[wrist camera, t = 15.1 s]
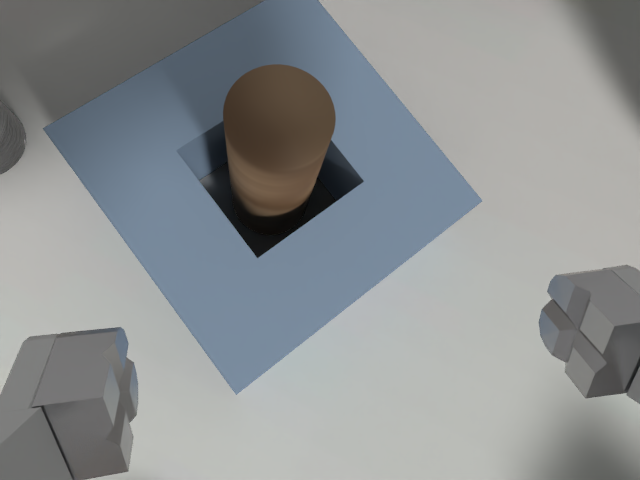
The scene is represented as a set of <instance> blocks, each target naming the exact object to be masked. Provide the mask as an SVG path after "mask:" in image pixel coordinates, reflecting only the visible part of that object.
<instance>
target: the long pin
mask: <svg viewBox="0 0 640 480" xmlns="http://www.w3.org/2000/svg"><path fill="white" fill-rule="evenodd" d="M223 121H224V130H225V139H226V147H227V156H228V165H229V174H230V183H231V191H232V200H233V207H234V210H235V213H236V215H237V217H238V218H239V220H240V221H241V222H242V223H243V224H244V225H245V226H246V227H248V228H249V229H250V230H252V231H254V232H257V233H260V234H264V235H276V234H281V233H284V232H286V231H288V230H290V229H291V228H293V227H294V226H295V225H296V224H297V223H298V222H299V221H300V220H301V218H302V216H303V214H304V212H305V209H306V207H307V204H308V201H309V198H310V196H311V193H312V190H313V187H314V185H315V182H316V179H317V176H318V174H319V171H320V168H321V166H322V163H323V160H324V157H325V155H326V152H327V149H328V146H329V144H330V141H331V138H332V135H333V133H334V129H335V121H336V116H335V108H334V104H333V102H332V99H331V97H330V95H329V93H328V91H327V90H326V89H325V87H324V86H323V85H322V84H321V83H320V82H319V81H318V80H317V79H316V78H315V77H314V76H312V75H311V74H309V73H307V72H305V71H304V70H302V69H299V68H296V67H293V66H289V65H281V64H272V65H265V66H261V67H258V68H255V69H252V70H251V71H249V72H247V73H245V74H244V75H242V76H241V77H240V78H239V79H238V80H237V81H236V82H235V83H234V84H233V85H232V87H231V88H230V90H229V92H228V94H227V96H226V99H225V102H224V108H223Z"/></svg>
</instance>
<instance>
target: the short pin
mask: <svg viewBox="0 0 640 480" xmlns="http://www.w3.org/2000/svg"><path fill="white" fill-rule="evenodd" d="M25 145H26V133H25V130H24V127H23V125H22V123H21V122H20V120H19V119H18V118H17V117H16V116H15V115H14V114H13V113H12V112H11V111H10V110H9V109H8V108H7V107H6V106H5V105H4V104H3V103H2V102H1V100H0V174H2V173H4V172H6V171H7V170H9V169H10V168H12V167H13V166H14V165H15V164H16V163H17V162H18V161H19V159H20V158H21V156H22V154H23V152H24V149H25Z"/></svg>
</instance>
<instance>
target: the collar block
mask: <svg viewBox="0 0 640 480" xmlns="http://www.w3.org/2000/svg"><path fill="white" fill-rule="evenodd" d="M272 64H281V65H289V66H293V67H296V68H299V69H302V70H304V71H305V72H307V73H309V74H311V75H312V76H314V77H315V78H316V79H317V80H318V81H319V82H320V83H321V84H322V85H323V86H324V87H325V89H326V90H327V91H328V93H329V95H330V97H331V99H332V102H333V104H334V108H335V116H336V121H335V129H334V133H333V135H332V138H331V141H330V144H329V146H328V149H327V152H326V155H325V157H324V160H323V163H322V166H321V168H320V171H319V174H318V176H317V177H318V178H319V179H320V180H321V182H322V183H323V184H324V186H325V187H326V188H327V189H328V191H329V192H330V193H331V194H332V196H333V197H334V198H335V200H336V202H335V203H334V204H332V205H331V206H329V207H328V208H327V209H325V210H324V211H322V212H321V213H320V214H318V215H317V216H316V217H314V218H313V219H311V220H310V221H309V222H307V223H306V224H304V225H303V226H302V227H300V228H299V229H297V230H296V231H295V232H293V233H292V234H291V235H289V236H288V237H286V238H285V239H284V240H282V241H281V242H279V243H278V244H277V245H275V246H274V247H272V248H271V249H270V250H268V251H267V252H266V253H264V254H263V255H261V256H260V257H259V258H257V257H256V256H255V254H254V253H253V252H252V250H251V249H250V248H249V246H248V245H247V244H246V242H245V241H244V240H243V238H242V237H241V236H240V234H239V233H238V232H237V230H236V229H235V228H234V226H233V225H232V224H231V222H230V221H229V220H228V219H227V217H226V216H225V215H224V213H223V212H222V211H221V209H220V208H219V207H218V205H217V204H216V203H215V201H214V200H213V199H212V197H211V196H210V195H209V193H208V192H207V191H206V189H205V188H204V187H203V185H202V184H201V183H200V181H199V180H200V179H202V178H203V177H205V176H206V175H208V174H210V173H211V172H213V171H214V170H216V169H217V168H219V167H220V166H222V165H223V164H225V163H226V162H228V156H227V147H226V139H225V130H224V121H223V108H224V102H225V99H226V96H227V94H228V92H229V90H230V88H231V87H232V85H233V84H234V83H235V82H236V81H237V80H238V79H239V78H240V77H241V76H242V75H244V74H245V73H247V72H249V71H251V70H252V69H255V68H258V67H261V66H265V65H272ZM43 129H44V131H45V132H46V134H47V135H48V136H49V138H50V139H51V140H52V142H53V143H54V145H55V146H56V147H57V149H58V150H59V151H60V153H61V154H62V156H63V157H64V158H65V160H66V161H67V162H68V164H69V165H70V167H71V168H72V169H73V171H74V172H75V173H76V175H77V176H78V178H79V179H80V180H81V182H82V183H83V184H84V186H85V187H86V189H87V190H88V191H89V193H90V194H91V196H92V197H93V198H94V200H95V201H96V202H97V204H98V205H99V207H100V208H101V209H102V211H103V212H104V213H105V215H106V216H107V218H108V219H109V220H110V222H111V223H112V224H113V226H114V227H115V229H116V230H117V231H118V233H119V234H120V235H121V237H122V238H123V240H124V241H125V242H126V244H127V245H128V246H129V248H130V249H131V251H132V252H133V253H134V255H135V256H136V257H137V259H138V260H139V262H140V263H141V264H142V266H143V267H144V268H145V270H146V271H147V273H148V274H149V275H150V277H151V278H152V280H153V281H154V282H155V284H156V285H157V286H158V288H159V289H160V291H161V292H162V293H163V295H164V296H165V297H166V299H167V300H168V302H169V303H170V304H171V306H172V307H173V308H174V310H175V311H176V313H177V314H178V315H179V317H180V318H181V319H182V321H183V322H184V324H185V325H186V326H187V328H188V329H189V330H190V332H191V333H192V335H193V336H194V337H195V339H196V340H197V341H198V343H199V344H200V346H201V347H202V348H203V350H204V351H205V352H206V354H207V355H208V357H209V358H210V359H211V361H212V362H213V364H214V365H215V366H216V368H217V369H218V370H219V372H220V373H221V375H222V376H223V377H224V379H225V380H226V381H227V383H228V384H229V386H230V387H231V388H232V390H233V391H234V392H235V394H236V395H237V394H238V393H239V392H240V391H242V390H243V389H244V388H246V387H247V386H248V385H249V384H251V383H252V382H253V381H254V380H256V379H257V378H258V377H260V376H261V375H262V374H263V373H265V372H266V371H267V370H268V369H270V368H271V367H272V366H273V365H275V364H276V363H277V362H279V361H280V360H281V359H282V358H284V357H285V356H286V355H287V354H289V353H290V352H291V351H293V350H294V349H295V348H296V347H298V346H299V345H300V344H301V343H303V342H304V341H305V340H307V339H308V338H309V337H310V336H312V335H313V334H314V333H315V332H317V331H318V330H319V329H320V328H322V327H323V326H324V325H326V324H327V323H328V322H329V321H331V320H332V319H333V318H334V317H336V316H337V315H338V314H340V313H341V312H342V311H343V310H345V309H346V308H347V307H348V306H350V305H351V304H352V303H353V302H355V301H356V300H357V299H359V298H360V297H361V296H362V295H364V294H365V293H366V292H367V291H369V290H370V289H371V288H373V287H374V286H375V285H376V284H378V283H379V282H380V281H381V280H383V279H384V278H385V277H387V276H388V275H389V274H390V273H392V272H393V271H394V270H395V269H397V268H398V267H399V266H400V265H402V264H403V263H404V262H406V261H407V260H408V259H409V258H411V257H412V256H413V255H414V254H416V253H417V252H418V251H420V250H421V249H422V248H423V247H425V246H426V245H427V244H428V243H430V242H431V241H432V240H433V239H435V238H436V237H437V236H439V235H440V234H441V233H442V232H444V231H445V230H446V229H447V228H449V227H450V226H451V225H453V224H454V223H455V222H456V221H458V220H459V219H460V218H461V217H463V216H464V215H465V214H467V213H468V212H469V211H470V210H472V209H473V208H474V207H475V206H477V205H478V204H479V203H480V202H482V200H481V198H480V197H479V196H478V195H477V193H476V192H475V191H474V190H473V189H472V187H471V186H470V185H469V184H468V183H467V181H466V180H465V179H464V178H463V176H462V175H461V174H460V173H459V172H458V170H457V169H456V168H455V167H454V165H453V164H452V163H451V162H450V161H449V159H448V158H447V157H446V156H445V155H444V153H443V152H442V151H441V150H440V148H439V147H438V146H437V145H436V144H435V142H434V141H433V140H432V139H431V137H430V136H429V135H428V134H427V133H426V131H425V130H424V129H423V128H422V126H421V125H420V124H419V123H418V122H417V120H416V119H415V118H414V117H413V116H412V114H411V113H410V112H409V111H408V109H407V108H406V107H405V106H404V105H403V103H402V102H401V101H400V100H399V98H398V97H397V96H396V95H395V94H394V92H393V91H392V90H391V89H390V88H389V86H388V85H387V84H386V83H385V81H384V80H383V79H382V78H381V77H380V75H379V74H378V73H377V72H376V70H375V69H374V68H373V67H372V66H371V64H370V63H369V62H368V61H367V59H366V58H365V57H364V56H363V55H362V53H361V52H360V51H359V50H358V49H357V47H356V46H355V45H354V44H353V42H352V41H351V40H350V39H349V38H348V36H347V35H346V34H345V33H344V31H343V30H342V29H341V28H340V27H339V25H338V24H337V23H336V22H335V21H334V19H333V18H332V17H331V16H330V14H329V13H328V12H327V11H326V10H325V8H324V7H323V6H322V5H321V3H320V2H319V1H318V0H265V1H263V2H261V3H259V4H258V5H256V6H254V7H253V8H251V9H249V10H247V11H246V12H244V13H242V14H240V15H239V16H237V17H235V18H233V19H232V20H230V21H228V22H227V23H225V24H223V25H221V26H220V27H218V28H216V29H214V30H213V31H211V32H209V33H207V34H206V35H204V36H202V37H201V38H199V39H197V40H195V41H194V42H192V43H190V44H188V45H187V46H185V47H183V48H182V49H180V50H178V51H176V52H175V53H173V54H171V55H169V56H168V57H166V58H164V59H162V60H161V61H159V62H157V63H156V64H154V65H152V66H150V67H149V68H147V69H145V70H143V71H142V72H140V73H138V74H136V75H135V76H133V77H131V78H130V79H128V80H126V81H124V82H123V83H121V84H119V85H117V86H116V87H114V88H112V89H110V90H109V91H107V92H105V93H104V94H102V95H100V96H98V97H97V98H95V99H93V100H91V101H90V102H88V103H86V104H84V105H83V106H81V107H79V108H78V109H76V110H74V111H72V112H71V113H69V114H67V115H65V116H64V117H62V118H60V119H58V120H57V121H55V122H53V123H52V124H50V125H48V126H46V127H45V128H43Z"/></svg>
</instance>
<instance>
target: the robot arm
mask: <svg viewBox="0 0 640 480" xmlns="http://www.w3.org/2000/svg"><path fill="white" fill-rule="evenodd" d="M547 292H548V294H549V296H550V297H551V299H552V300H551V301H550V302H549V303H548V304H547V305H546V306H545V307H544V308H543V309H542V311H541V315H540V319H539V328H540V335H541V338H542V340H543V342H544V345H545V346H546V348H547V349H548V350H549V352H550V353H551V355H553V356H555V357H557V358H558V359H560V360H562V361H564V362H566V363H565V373H566V374H567V375H568V377H569V378H570V379H571V381H572V382H573V383H574V384H575V386H576V387H577V388H578V390H579V391H580V392H581V393H582V395H583V396H584V397H585V398H592V397H599V396H607V395H615V394H622V393H627V396H628V397H630V398H632V399H633V400H635V401H636V402H638V403H639V404H640V271H639V270H637V269H636V268H634V267H631V266H628V265H624V266H617V267H610V268H603V269H599V270H591V271H583V272H575V273H567V274H559V275H555V277H554V278H553V279H552V280H551V281H550V284H549V287H548V290H547ZM127 350H128V341H127V338H126V335H125V331H124V330H123V329H122V328H121V327H117V328H107V329H97V330H87V331H77V332H66V333H61V334H51V335H41V336H31V337H29V338H27V339H26V340H25V341H24V342H23V343H22V346H21V348H20V350H19V353H18V355H17V357H16V360H15V362H14V364H13V366H12V369H11V371H10V373H9V376H8V378H7V380H6V383H5V385H4V387H3V390H2V392H1V394H0V480H85V479H91V478H96V477H101V476H107V475H112V474H117V473H123V472H128V471H129V464H130V457H131V450H132V444H133V434H132V430H131V427H130V424H129V423H130V422H131V421H132V420H133V419H134V417H135V416H136V415H137V407H138V381H137V374H136V370H135V366H134V362H132V361H131V360H129V359H128V358H127V357H126V356H127Z"/></svg>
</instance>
